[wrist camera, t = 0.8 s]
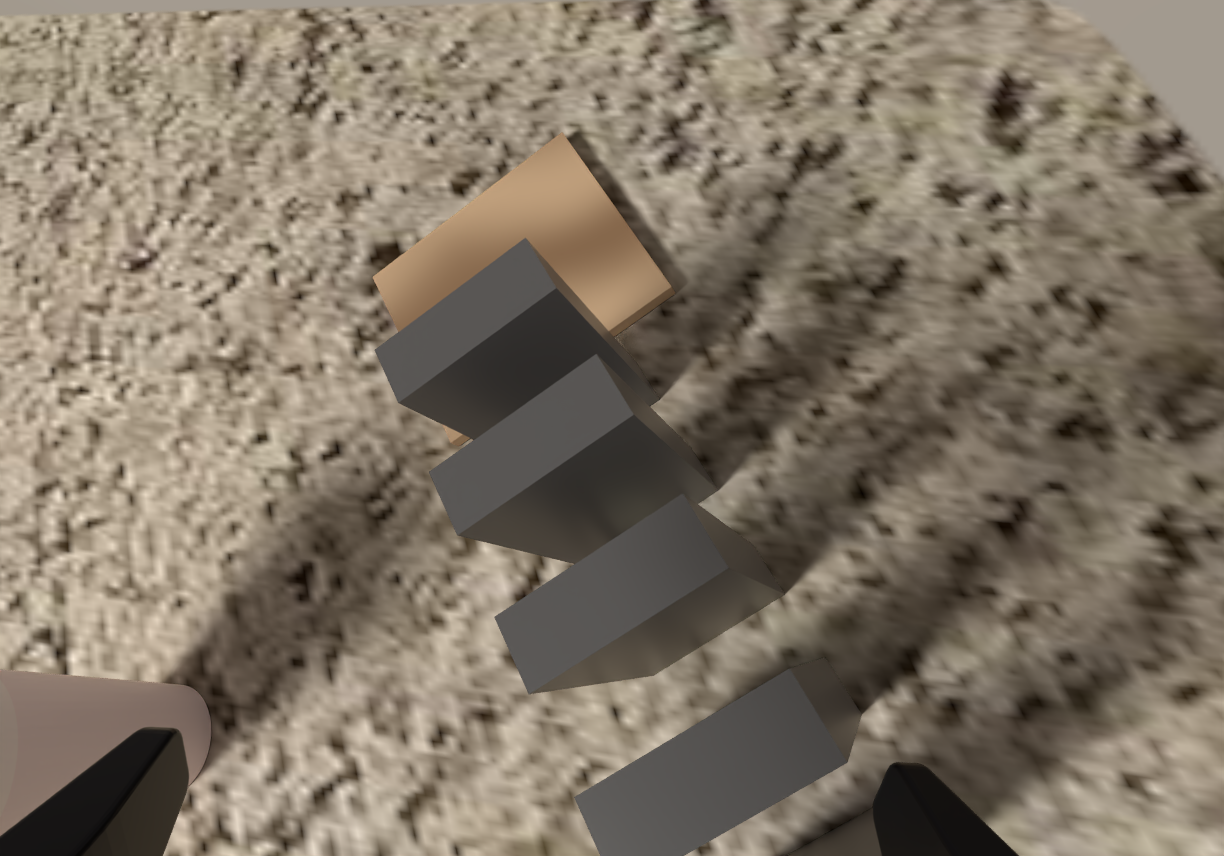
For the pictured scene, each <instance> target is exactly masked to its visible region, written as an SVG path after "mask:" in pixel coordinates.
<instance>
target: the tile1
mask: <svg viewBox="0 0 1224 856" xmlns="http://www.w3.org/2000/svg"><path fill="white" fill-rule="evenodd" d="M787 856H881V851H880V847H879V843H878V838H877V834H876V830H875V825H874V821H873V808H871V809H870V810H868V811H866V812H864V813H862V814H861V815H859V816H857V817H855V818H853V819H852V820H850V821H848V822H846V823H844V824H843V825H841V826H839V827H837V828H835V829H834V830H832V831H830V832H828V833H826V834H825V835H823V836H821V837H819V838H817V839H816V840H814V841H812V842H810V843H808V844H807V845H805V846H803V847H801V848H799V849H798V850H796V851H794V852H792V853H790V854H789V855H787Z"/></svg>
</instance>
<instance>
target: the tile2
mask: <svg viewBox="0 0 1224 856" xmlns="http://www.w3.org/2000/svg"><path fill="white" fill-rule="evenodd" d="M861 716H862V714H861V712H860V711H859V709H858V708H857V706H856V705H855V703H854V701H853V700H852V698H851V697H850V695H849V694H848V692H847V691H846V689H845V687H844V686H843V684H842V683H841V681H840V680H839V678H838V677H837V675H836V673H835V672H834V670H833V669H832V667H831V666H830V664H829V662H828V661H827V659H826V658H822V659H818V660H815V661H812V662H808V663H805V664H802V665H798V666H795V667H792V668H789V669H787V670H786V671H784V672H782V673H781V674H779V675H777V676H776V677H774V678H772V679H771V680H769V681H767V682H766V683H764V684H762V685H761V686H759V687H757V688H756V689H754V690H752V691H751V692H749V693H747V694H746V695H744V696H742V697H741V698H739V699H737V700H736V701H734V702H732V703H731V704H729V705H727V706H726V707H724V708H722V709H721V710H719V711H717V712H716V713H714V714H712V715H711V716H709V717H707V718H706V719H704V720H702V721H701V722H699V723H697V724H696V725H694V726H692V727H691V728H689V729H687V730H686V731H684V732H682V733H681V734H679V735H677V736H676V737H674V738H672V739H671V740H669V741H667V742H666V743H664V744H662V745H661V746H659V747H657V748H656V749H654V750H652V751H651V752H649V753H647V754H646V755H644V756H642V757H641V758H639V759H637V760H636V761H634V762H632V763H631V764H629V765H627V766H626V767H624V768H622V769H621V770H619V771H617V772H616V773H614V774H612V775H611V776H609V777H607V778H606V779H604V780H602V781H601V782H599V783H597V784H596V785H594V786H592V787H591V788H589V789H587V790H586V791H584V792H582V793H581V794H579V795H577V796H576V797H574V798H575V800H576V802H577V804H578V807H579V809H580V811H581V813H582V816H583V818H584V820H585V822H586V824H587V827H588V829H589V831H590V833H591V836H592V838H593V840H594V842H595V845H596V847H597V849H598V851H599V854H600V856H684V855H686V854H688V853H689V852H691V851H693V850H695V849H697V848H698V847H700V846H702V845H704V844H705V843H707V842H709V841H711V840H712V839H714V838H716V837H718V836H719V835H721V834H723V833H725V832H726V831H728V830H730V829H732V828H733V827H735V826H737V825H739V824H740V823H742V822H744V821H746V820H747V819H749V818H751V817H753V816H754V815H756V814H758V813H760V812H761V811H763V810H765V809H767V808H768V807H770V806H772V805H774V804H775V803H777V802H779V801H781V800H782V799H784V798H786V797H788V796H789V795H791V794H793V793H795V792H797V791H798V790H800V789H802V788H804V787H805V786H807V785H809V784H811V783H812V782H814V781H816V780H818V779H819V778H821V777H823V776H825V775H826V774H828V773H830V772H832V771H833V770H835V769H837V768H839V767H840V766H842V765H844V764H846V763H847V762H848V759H849V756H850V752H851V749H852V746H853V742H854V739H855V736H856V732H857V729H858V726H859V722H860V719H861Z"/></svg>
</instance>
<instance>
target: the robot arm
mask: <svg viewBox="0 0 1224 856" xmlns="http://www.w3.org/2000/svg"><path fill="white" fill-rule="evenodd" d="M188 783H189V769H188V764H187V758H186V753H185V748H184V742H183V737H182V734H181V732H180V731H179V730H178V729H176V728H167V727H144V728H141V729H139V730H137V731H136V732H134V733H133V734H131V735H130V736H129V737H128V738H126V739H125V740H124V741H122V742H121V743H120V744H118V745H117V746H116V747H115V748H113V749H112V750H111V751H109V752H108V753H107V754H106V755H104V756H103V757H102V758H100V759H99V760H98V761H96V762H95V763H94V764H93V765H91V766H90V767H89V768H87V769H86V770H85V771H84V772H82V773H81V774H80V775H78V776H77V777H76V778H75V779H73V780H72V781H71V782H69V783H68V784H67V785H65V786H64V787H63V788H62V789H60V790H59V791H58V792H56V793H55V794H54V795H53V796H51V797H50V798H49V799H47V800H46V801H45V802H43V803H42V804H41V805H40V806H38V807H37V808H36V809H34V810H33V811H32V812H31V813H29V814H28V815H27V816H25V817H24V818H23V819H21V820H20V821H19V822H18V823H16V824H15V825H14V826H12V827H11V828H10V829H9V830H7V831H6V832H5V833H3V834H2V835H1V836H0V856H163V854H164V851H165V849H166V846H167V843H168V841H169V838H170V835H171V833H172V830H173V827H174V825H175V822H176V819H177V817H178V814H179V811H180V809H181V806H182V803H183V801H184V798H185V795H186V792H187V788H188ZM873 821H874V825H875V830H876V834H877V838H878V843H879V847H880V851H881V856H1019V855H1018V854H1017V853H1016V852H1015V851H1014V850H1012V849H1011V848H1010V847H1009V846H1008V845H1007V844H1006V843H1005V842H1004V841H1003V840H1002V839H1001V838H1000V837H999V836H998V835H997V834H996V833H995V832H994V831H993V830H992V829H991V828H990V827H989V826H988V825H987V824H986V823H985V822H983V821H982V820H981V819H980V818H979V817H978V816H977V815H976V814H975V813H974V812H973V811H972V810H971V809H970V808H969V807H968V806H967V805H966V804H965V803H964V802H963V801H962V800H961V799H960V798H959V797H958V796H957V795H956V794H955V793H953V792H952V791H951V790H950V789H949V788H948V787H947V786H946V785H945V784H944V783H943V782H942V781H941V780H940V779H939V778H938V777H937V776H936V775H935V774H934V773H933V772H932V771H931V770H930V769H928V768H927V767H926V766H924V765H922V764H918V763H903V762H896V763H893V764H892V765H890V766H889V768H888V770H887V772H886V774H885V777H884V779H883V781H882V784H881V786H880V788H879V790H878V793H877V795H876V797H875V799H874V803H873Z"/></svg>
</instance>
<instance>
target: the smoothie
mask: <svg viewBox="0 0 1224 856" xmlns="http://www.w3.org/2000/svg"><path fill="white" fill-rule="evenodd" d="M144 727H167V728H176V729H178V730H179V731H180V732H181V734H182V737H183V742H184V748H185V753H186V758H187V764H188V769H189V783H188V786H189V785H190V784H191V783H192V782H193V781H194V780H195V778H196V777H197V775H198V774H199V772H200V771H201V769H202V767H203V765H204V763H205V760H206V757H207V754H208V751H209V746H210V741H211V720H210V715H209V711H208V708H207V705H206V703H205V701H204V699H203V698H202V697H201V695H200V694H199V693H198V692H197V691H196V690H194V689H193V688H191V687H189V686H186V685H179V684H167V683H156V682H144V681H132V680H120V679H108V678H96V677H84V676H72V675H61V674H49V673H37V672H25V671H13V670H1V669H0V836H1V835H2V834H3V833H5V832H6V831H7V830H9V829H10V828H11V827H12V826H14V825H15V824H16V823H18V822H19V821H20V820H21V819H23V818H24V817H25V816H27V815H28V814H29V813H31V812H32V811H33V810H34V809H36V808H37V807H38V806H40V805H41V804H42V803H43V802H45V801H46V800H47V799H49V798H50V797H51V796H53V795H54V794H55V793H56V792H58V791H59V790H60V789H62V788H63V787H64V786H65V785H67V784H68V783H69V782H71V781H72V780H73V779H75V778H76V777H77V776H78V775H80V774H81V773H82V772H84V771H85V770H86V769H87V768H89V767H90V766H91V765H93V764H94V763H95V762H96V761H98V760H99V759H100V758H102V757H103V756H104V755H106V754H107V753H108V752H109V751H111V750H112V749H113V748H115V747H116V746H117V745H118V744H120V743H121V742H122V741H124V740H125V739H126V738H128V737H129V736H130V735H131V734H133V733H134V732H136V731H137V730H139V729H141V728H144Z"/></svg>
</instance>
